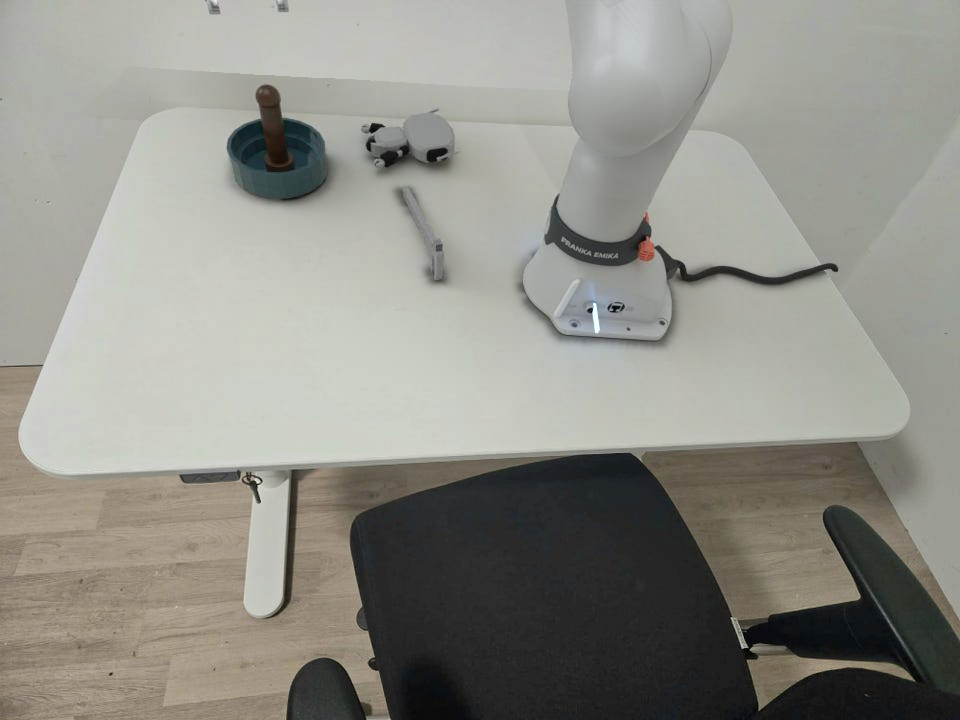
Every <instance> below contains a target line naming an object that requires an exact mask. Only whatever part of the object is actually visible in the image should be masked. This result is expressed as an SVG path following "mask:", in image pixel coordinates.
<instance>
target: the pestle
mask: <svg viewBox="0 0 960 720" xmlns="http://www.w3.org/2000/svg"><path fill="white" fill-rule="evenodd" d="M254 96H255V101H256V104H257V105H258V110H259V114H260V119H261V121H262V126H263V132H264V137H265V142H266V147H267V153H266V154H265V156H264V162H265V167H266V171H267V172H286V171H292V170H295V165H294V158H293V155H292V154H291V153H290V152H288V150H287V143H286V137H285V131H284V124H283V118H284V117H283V112H282V111H283V110H282V106H281V102H282V96H281V93H280V92H279V89H278V88H277V87H275V86H274V85H272V84H268V83H265V84H261V85H260V86H258V88H256V90H255V95H254Z"/></svg>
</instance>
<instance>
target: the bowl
mask: <svg viewBox="0 0 960 720" xmlns="http://www.w3.org/2000/svg"><path fill="white" fill-rule="evenodd" d="M282 118H283V124H284V131H285V137H286V143H287V150H288V152H290V153H291V154H292V155H293V158H294V165H295V170H292V171H286V172H267V171H266V167H265V162H264V156H265V154H266V153H267V147H266V142H265V137H264V132H263V126H262V121H261V118H257V119H254V120H251V121H248V122H245V123H243V124H242V125H240V126H239V127H237V128H236V129H234V130H233V131H232V132H231V134H230V135H229V137H228V138H227V142H226V152H227V155H228V160H229V163H230V167H231V172H232V174H233V177H234V180H235V182H236V183H238V185H239V186H240V187H241V188H242V189H244V190H245V191H247V192H249V193H251V194H252V195H255V196H259V197H263V198H268V199H281V200H282V199H292V198H296V197H302V196H305V195H306V194H308V193H310V192H312V191H315V190H316V189H317V188H318V187H320V186H321V185H322V184H323V183H324V180H325V179H326V177H327V176H328V161H327V160H328V159H327V150H326V141H325V140H324V138H323V136H322V134H321V133H320V132H319V131H318V130H317V129H316V128H315V127H314V126H312V125H310V124H308V123H306V122H304V121H302V120H299V119H293V118H289V117H282Z"/></svg>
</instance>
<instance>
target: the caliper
mask: <svg viewBox="0 0 960 720" xmlns="http://www.w3.org/2000/svg"><path fill="white" fill-rule="evenodd" d="M400 190H401V193H402V196H403V199H404V202H405V204H406V205H407V207H408V210H409V211H410V213H411V215H412V218H413V219H414V221H415V223H416V225H417V227H418V229H419V232H420V234H421V236H422V238H423V245H424V246H425V249H426V250H427V251H428V252H429V261H430V272H431V275H433V274H434V276H433V277H434V281H438V280H442V279H443V274H444V266H445V265H444V264H445V262H444V259H445V256H444V255H445V254H444V253H445V252H444V251H443V242H441V238H437V236H436V234H435V233H434V231H433V229H432V227H431V226H429V224H428V222H427V220H426V218H425V216H424V214H423V212H422V211H421V208H420V206H419V204H418V203H417V200H416V198H415V197H414V195H413V192H412V191H411V189H410V187H401V188H400Z"/></svg>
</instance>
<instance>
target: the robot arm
mask: <svg viewBox="0 0 960 720" xmlns="http://www.w3.org/2000/svg"><path fill="white" fill-rule="evenodd" d="M204 1H205V2H206V5H207V9H208V12H209V16H213V15H216V16H217V15H221V9H220V6H219V1H218V0H204ZM564 1H565V8H566V14H567V24H568V30H569V38H570V39H569V40H570V47H571V48H570V49H571V61H572V65H571V67H572V69H571V78H570V85H569V89H568V97H567V109H568V115H569V119H570V123H571V124H572V126H573V129H574V131H575V132H576V134H577V135H578V139H577V141H576V142H575V145H574V147H573V149H572V152H571V156H570V159H569V162H568V165H567V168H566V169H567V170H566V172H565V175H564V179H563V181H562V185H561V188H560V192H559V193H557V194H556V196H555V198H554V200H553V202H552V206H550V209H549V212H548V216H547V219H546V222H545V226H544V230H543V234H544V235H543V239H542V241H541V243H540V245H539V247H538V249H537V251H536V252H535V254H533V255H534V256H533V257H532V258H531V260H530V261H529V262H528V263H527V264H526V265H525V267H524V270H523V274H522V285H523V289H524V291H525V294H526V296H527V297H528V299H529V300H530V301H531V303H532V304H533V306H535V307H536V308H537V309H538V310H539V311H541V313H543V314H544V315H546V316H547V317H548V318H549V319H550V321H551V323H552V324H553V326H554V327H555V329H556V330H557V331H558V332H559V333H560V334H562V335H566V336H577V337H579V336H580V337H593V338H610V339H624V340H638V341H639V340H641V341H660V340H661V339H662V338H663V337H664V336H665V334H666V332H667V331H668V329H669V326H670V323H671V320H672V314H673V313H672V312H673V300H672V295H671V289H670V287H669V284H668V281H670V280H671V279H673V278H674V276H675V274H676V272H677V271H678V269H679V274H680V277H681V278H682V279H683V280H685V281H688V282H693V281H698V280H701V279H703V278H706V277H708V276H710V275H712V274H717V273H728V274H734V275H737V276H739V277H742V278H746V279H748V280H751V281H755V282H758V283H762V284H770V285H771V284H776V285H777V284H784V283H787V282H790V281H793V280H795V279H799V278H802V277H806V276H810V275H813V274H817V273H820V272H823V271H825V270H831V271H832V272H834V273H838V272H839V267H838V265H837V264H836V263H833V262H826V263H823V264H820V265H816V266H814V267H810V268H807V269H801V270H799V271H796V272H793V273H790V274H787V275H783V276H777V277H776V276H773V277H772V276H764V275H759V274H756V273H753V272H750V271H747V270H745V269H743V268H738V267H735V266H729V265H716V266H712V267H709V268H707V269H705V270H702V271H699V272H697V273H694V274H689V273H688V272H687V266H686V264H685V263H684V262H683V261H682V260H678V259H675V258H673V257H672V256H671V255H670V254H669V253H668V252H667V251H666V250H665V249H664V248H663V247H662V246H661V245H660V244H658V245H655V243H653V241H650V239H651V237H652V233H653V232H652V230H653V229H652V226H651V225H650V217H649V213H648V210H649V207H650V205H651V203H652V201H653V199H654V197H655V195H656V193H657V191H658V189H659V187H660V184H661V182H662V180H663V178H664V176H665V175H666V173H667V171H668V169H669V167H670V166H671V164H672V162H673V160H674V158H675V157H676V155H677V153H678V151H679V149H680V147H681V145H682V143H683V141H684V140H685V138H686V136H687V135H688V132H689V130H690V129H691V127H692V126H693V123H694V121H695V119H696V118H697V116H698V114H699V112H700V110H701V108H702V106H703V104H704V103H705V100H706V99H707V96H708V94H709V93H710V90H711V89H712V87H713V85H714V83H715V81H716V79H717V77H718V75H719V74H720V71H721V70H722V67H723V66H724V63H725V61H726V58H727V57H728V53H729V50H730V47H731V43H732V37H733V30H734V17H733V12H732V8H731V6H730V4H729V1H728V0H564ZM275 3H276V6H277V12H278V13H289V10H290V9H289V3H288V0H275Z"/></svg>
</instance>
